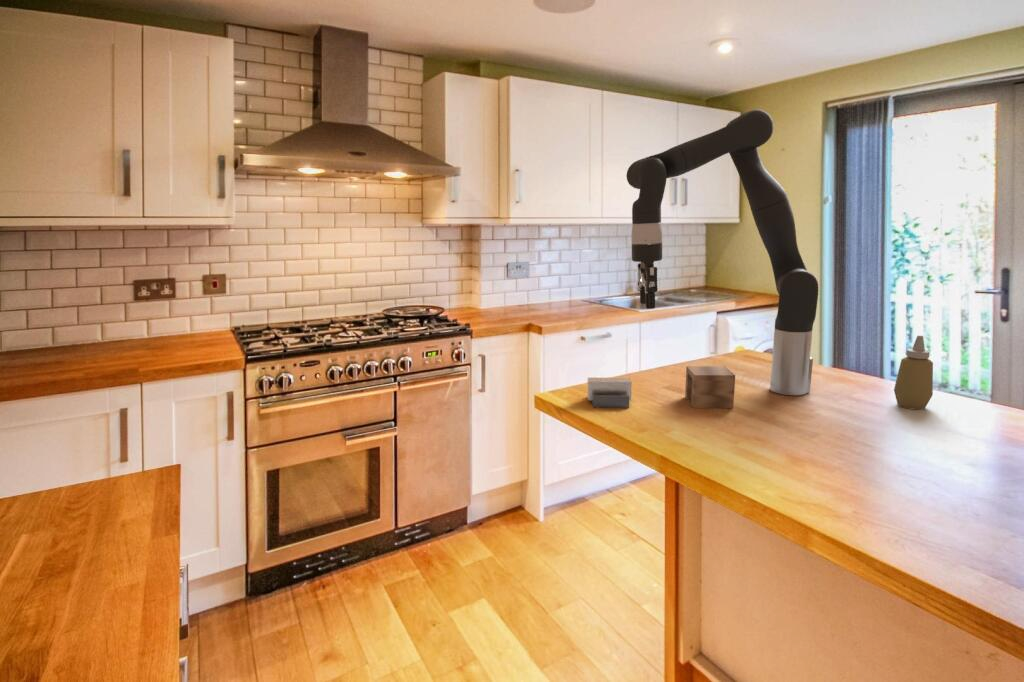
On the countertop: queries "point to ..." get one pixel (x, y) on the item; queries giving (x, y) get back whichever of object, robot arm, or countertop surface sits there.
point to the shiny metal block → (609, 387)
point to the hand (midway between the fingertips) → (647, 306)
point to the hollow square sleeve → (710, 386)
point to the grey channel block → (611, 401)
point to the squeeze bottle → (915, 378)
